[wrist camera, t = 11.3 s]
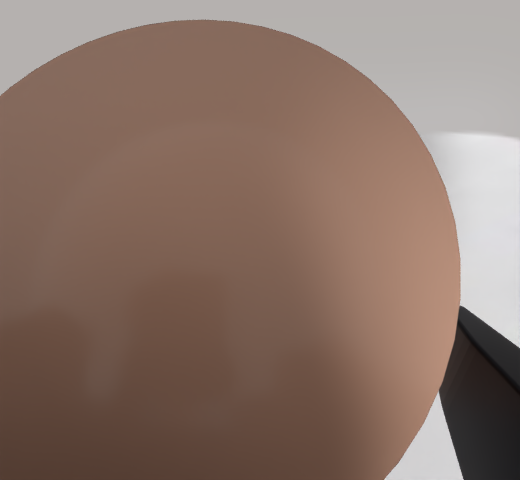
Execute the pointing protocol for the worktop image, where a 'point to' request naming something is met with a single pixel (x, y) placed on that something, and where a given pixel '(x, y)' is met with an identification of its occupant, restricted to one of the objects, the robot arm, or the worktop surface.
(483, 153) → the worktop surface
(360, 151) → the terracotta cylinder
